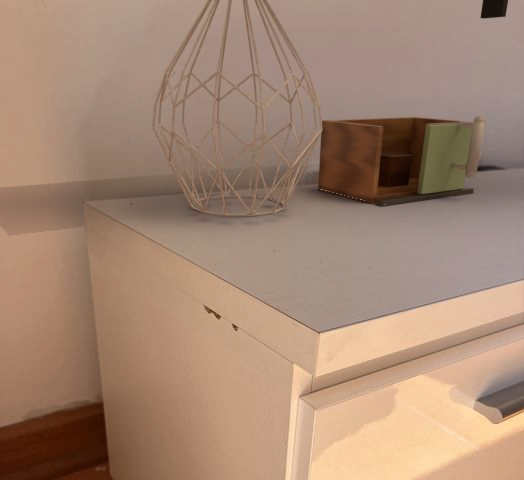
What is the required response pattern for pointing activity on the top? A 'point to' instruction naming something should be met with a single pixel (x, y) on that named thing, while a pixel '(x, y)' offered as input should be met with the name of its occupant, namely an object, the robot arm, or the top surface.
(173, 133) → the table lamp
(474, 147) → the sliding door
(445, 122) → the box
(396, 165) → the block
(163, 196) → the top surface
